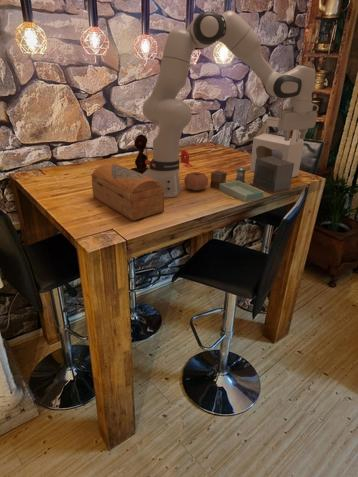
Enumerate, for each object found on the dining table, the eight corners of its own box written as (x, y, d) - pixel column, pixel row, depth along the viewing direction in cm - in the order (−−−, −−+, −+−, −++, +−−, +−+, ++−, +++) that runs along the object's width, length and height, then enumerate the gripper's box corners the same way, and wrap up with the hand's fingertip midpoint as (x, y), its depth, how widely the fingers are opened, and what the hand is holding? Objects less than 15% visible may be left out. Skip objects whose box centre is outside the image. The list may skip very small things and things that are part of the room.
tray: (244, 202, 148) (245, 195, 147) (219, 189, 162) (219, 183, 161) (264, 198, 153) (264, 191, 152) (237, 186, 167) (238, 180, 166)
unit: (273, 195, 157) (277, 166, 151) (249, 184, 169) (252, 158, 164) (292, 191, 163) (297, 163, 157) (268, 181, 175) (272, 155, 169)
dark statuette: (155, 181, 170) (155, 139, 161) (125, 181, 170) (123, 138, 161) (157, 173, 183) (157, 133, 174) (128, 172, 183) (127, 132, 174)
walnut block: (218, 189, 162) (219, 174, 159) (210, 187, 165) (211, 172, 162) (225, 187, 165) (226, 172, 162) (216, 184, 168) (218, 170, 165)
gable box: (249, 170, 192) (255, 116, 179) (263, 166, 200) (271, 114, 187) (284, 180, 177) (293, 122, 165) (298, 175, 185) (308, 120, 172)
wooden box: (167, 211, 138) (167, 176, 131) (130, 221, 128) (129, 184, 122) (126, 190, 158) (125, 159, 152) (92, 197, 149) (89, 165, 142)
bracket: (175, 164, 200) (175, 150, 196) (182, 163, 202) (182, 149, 199) (187, 169, 191) (187, 154, 187) (194, 168, 193) (194, 153, 190)
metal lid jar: (239, 184, 170) (240, 170, 166) (233, 181, 173) (235, 167, 170) (245, 183, 172) (247, 169, 168) (240, 180, 175) (241, 166, 172)
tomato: (209, 187, 165) (210, 170, 161) (204, 194, 156) (205, 176, 152) (187, 184, 167) (188, 168, 164) (181, 191, 158) (181, 174, 155)
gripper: (287, 109, 145) (282, 143, 151) (321, 106, 154) (315, 138, 161) (276, 107, 150) (272, 140, 156) (310, 105, 159) (304, 136, 165)
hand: (294, 139), depth 158 cm, fingers open, 8 cm apart
